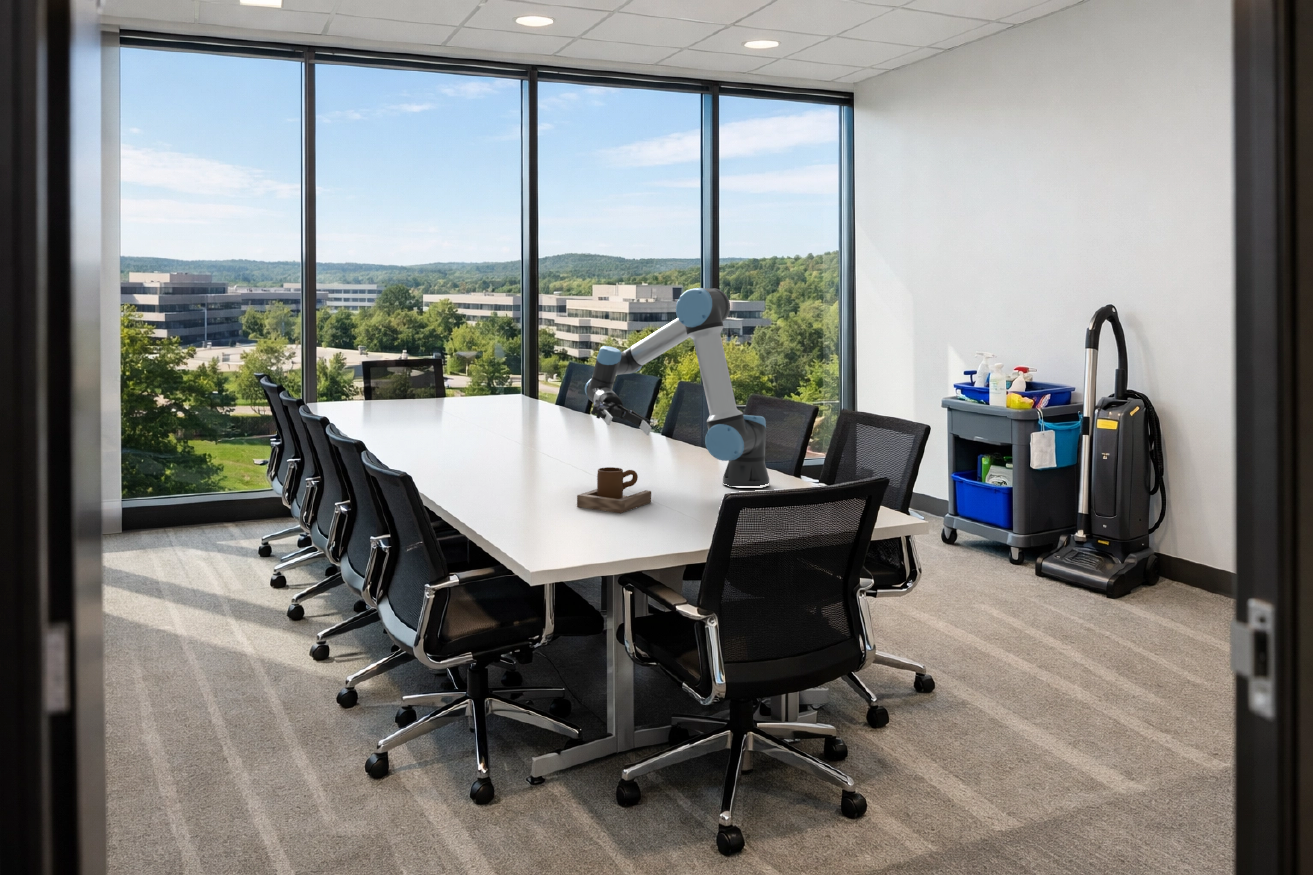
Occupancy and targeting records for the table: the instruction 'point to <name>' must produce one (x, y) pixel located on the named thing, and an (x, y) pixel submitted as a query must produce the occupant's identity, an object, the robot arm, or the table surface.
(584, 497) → the u rest
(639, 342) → the robot arm
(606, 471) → the mug
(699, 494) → the table surface
